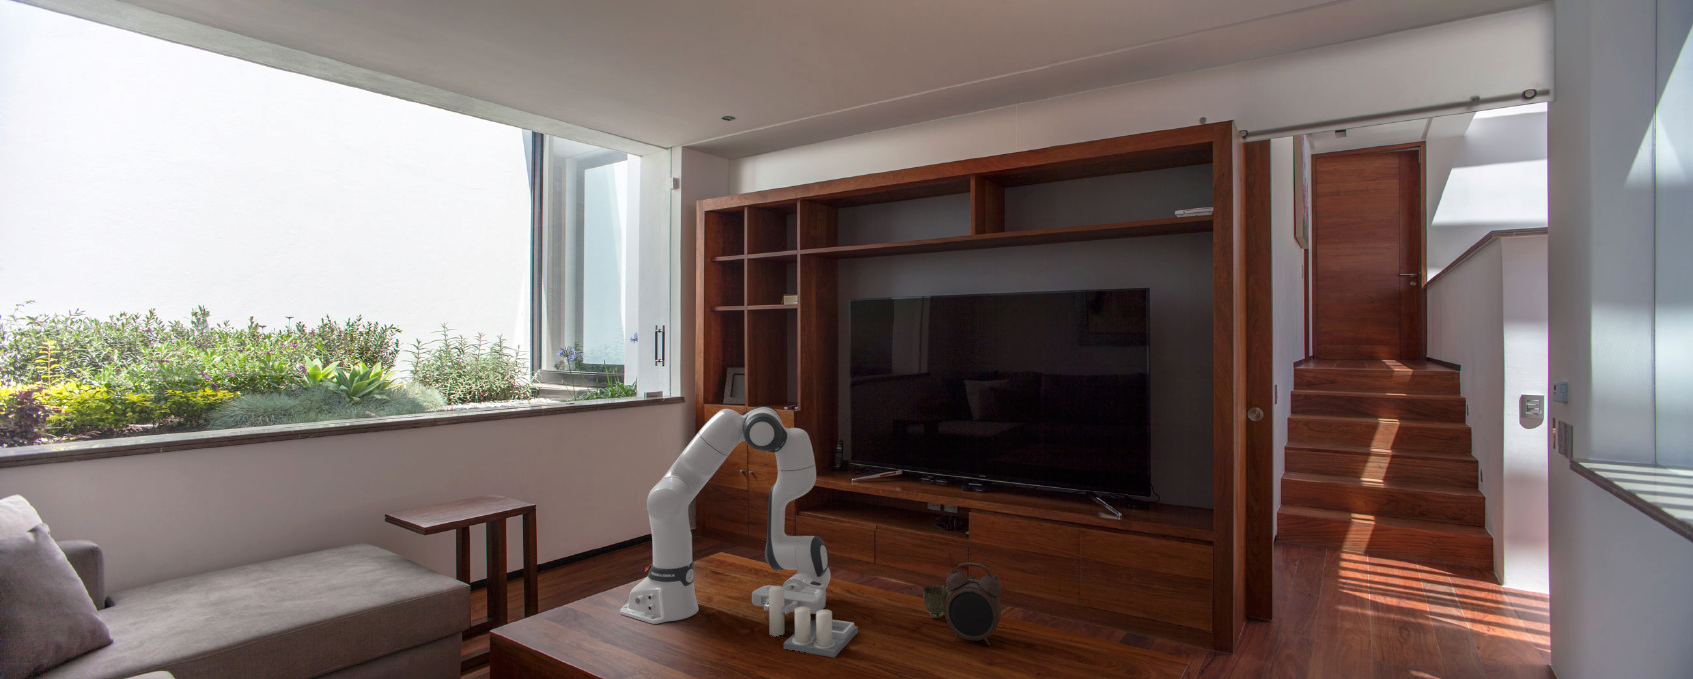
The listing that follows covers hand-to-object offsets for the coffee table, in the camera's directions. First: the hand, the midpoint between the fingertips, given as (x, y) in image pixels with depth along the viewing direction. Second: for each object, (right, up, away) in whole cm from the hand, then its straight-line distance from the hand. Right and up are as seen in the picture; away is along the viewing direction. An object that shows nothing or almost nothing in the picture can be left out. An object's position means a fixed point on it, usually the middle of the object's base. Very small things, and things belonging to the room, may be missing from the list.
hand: (775, 609), depth 193 cm
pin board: (+13, -6, -4) cm, 15 cm away
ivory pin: (0, -7, +1) cm, 7 cm away
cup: (+44, -6, +10) cm, 46 cm away
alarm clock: (+52, -6, -6) cm, 52 cm away
